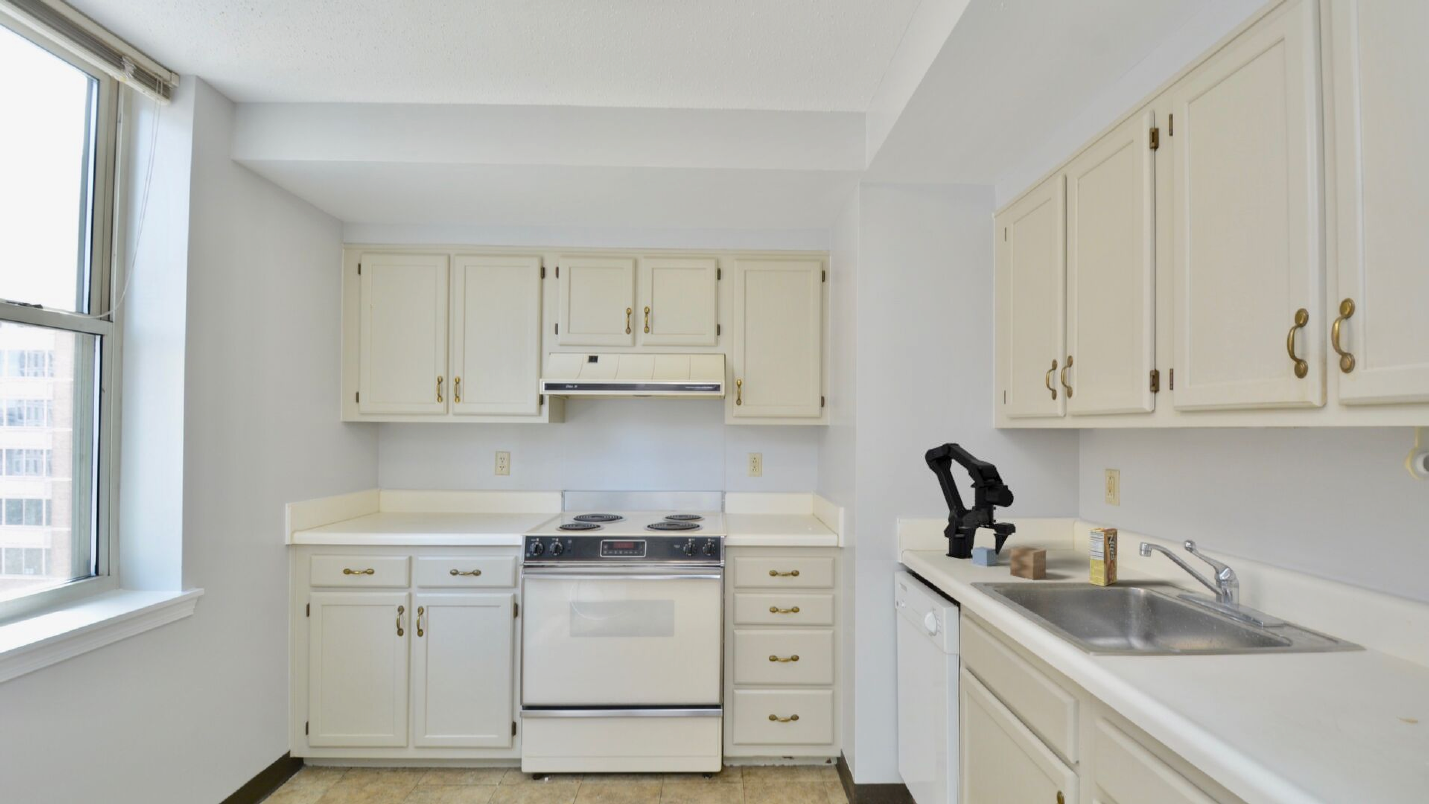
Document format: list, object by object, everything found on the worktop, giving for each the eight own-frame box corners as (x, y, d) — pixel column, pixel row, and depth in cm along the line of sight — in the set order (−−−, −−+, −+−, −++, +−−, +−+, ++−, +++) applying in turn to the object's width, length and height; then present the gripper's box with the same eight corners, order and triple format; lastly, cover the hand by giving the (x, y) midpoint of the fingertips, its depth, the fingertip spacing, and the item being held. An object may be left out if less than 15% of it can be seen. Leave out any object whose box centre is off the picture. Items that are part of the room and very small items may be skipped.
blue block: (972, 563, 221) (972, 548, 221) (981, 562, 224) (981, 546, 224) (986, 566, 217) (986, 550, 217) (995, 564, 220) (995, 549, 220)
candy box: (1102, 579, 201) (1102, 526, 201) (1118, 582, 197) (1117, 528, 198) (1089, 583, 195) (1089, 529, 195) (1105, 586, 192) (1105, 531, 192)
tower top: (1010, 562, 205) (1010, 548, 205) (1023, 559, 209) (1023, 546, 209) (1033, 566, 199) (1033, 552, 199) (1046, 563, 203) (1046, 550, 203)
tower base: (1010, 575, 205) (1010, 562, 205) (1023, 572, 209) (1023, 559, 209) (1032, 580, 199) (1032, 566, 199) (1045, 577, 203) (1045, 563, 203)
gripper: (943, 501, 224) (943, 549, 224) (996, 508, 209) (995, 560, 208) (964, 499, 230) (964, 546, 230) (1016, 505, 215) (1016, 556, 215)
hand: (984, 552), depth 221 cm, fingers open, 9 cm apart
